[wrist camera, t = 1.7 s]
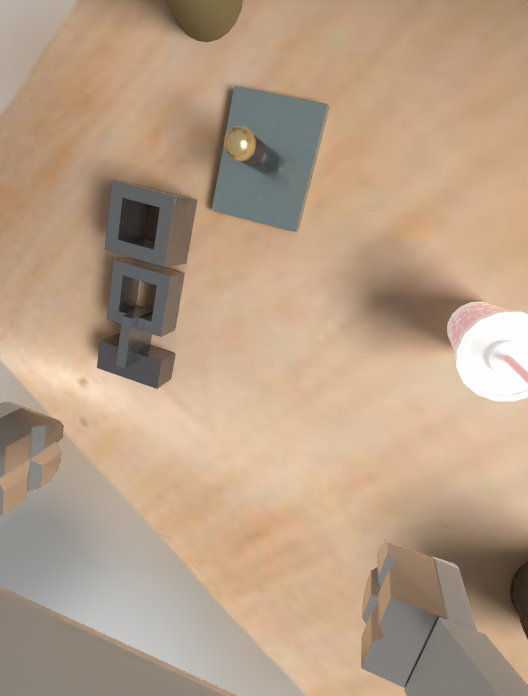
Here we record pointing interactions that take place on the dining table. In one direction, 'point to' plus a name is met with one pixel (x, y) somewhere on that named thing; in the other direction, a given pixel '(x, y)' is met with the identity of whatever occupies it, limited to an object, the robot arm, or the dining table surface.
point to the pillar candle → (521, 596)
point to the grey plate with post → (268, 157)
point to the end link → (132, 218)
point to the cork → (206, 17)
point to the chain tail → (140, 322)
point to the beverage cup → (491, 350)
